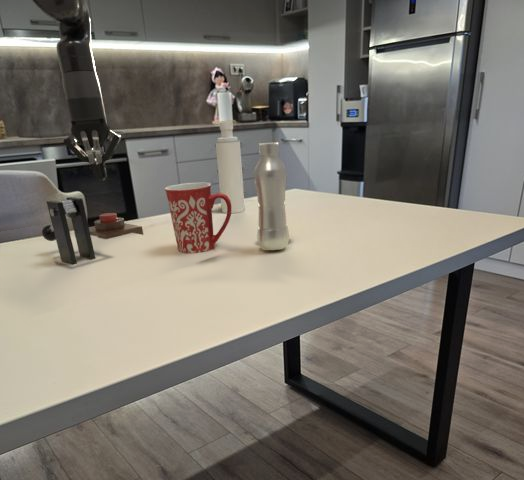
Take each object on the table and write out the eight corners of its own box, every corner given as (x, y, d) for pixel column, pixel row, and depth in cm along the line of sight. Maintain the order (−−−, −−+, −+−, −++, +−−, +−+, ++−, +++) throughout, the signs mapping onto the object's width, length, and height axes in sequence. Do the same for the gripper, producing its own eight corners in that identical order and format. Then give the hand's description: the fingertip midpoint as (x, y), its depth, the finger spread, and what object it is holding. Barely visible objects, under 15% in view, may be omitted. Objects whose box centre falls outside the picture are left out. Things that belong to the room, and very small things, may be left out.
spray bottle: (244, 212, 135) (237, 114, 124) (221, 214, 135) (211, 115, 124) (245, 208, 141) (238, 114, 130) (222, 209, 141) (213, 115, 130)
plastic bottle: (252, 253, 96) (245, 145, 87) (265, 244, 102) (259, 142, 93) (282, 254, 94) (278, 144, 85) (294, 245, 100) (291, 141, 91)
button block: (81, 238, 118) (77, 221, 116) (116, 230, 124) (113, 214, 123) (107, 244, 111) (104, 227, 109) (143, 235, 117) (140, 218, 115)
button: (97, 222, 116) (96, 215, 115) (112, 219, 118) (110, 212, 118) (106, 224, 113) (104, 216, 113) (121, 221, 116) (119, 213, 115)
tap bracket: (49, 267, 96) (31, 201, 90) (85, 257, 101) (71, 194, 95) (74, 275, 90) (56, 205, 84) (111, 264, 95) (97, 198, 89)
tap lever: (44, 244, 99) (37, 230, 99) (59, 241, 101) (52, 227, 101) (64, 215, 88) (56, 199, 88) (80, 212, 91) (73, 197, 90)
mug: (167, 260, 95) (156, 190, 89) (182, 248, 103) (174, 183, 97) (229, 260, 93) (222, 187, 86) (239, 248, 100) (234, 180, 94)
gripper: (118, 94, 107) (132, 176, 115) (59, 99, 107) (77, 180, 115) (110, 93, 100) (126, 180, 108) (47, 98, 100) (67, 185, 108)
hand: (101, 180), depth 111 cm, fingers closed
